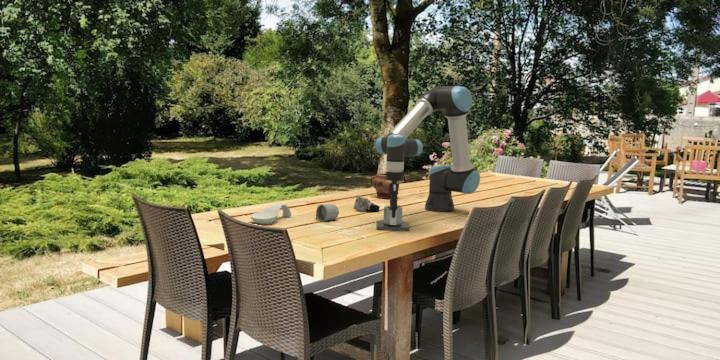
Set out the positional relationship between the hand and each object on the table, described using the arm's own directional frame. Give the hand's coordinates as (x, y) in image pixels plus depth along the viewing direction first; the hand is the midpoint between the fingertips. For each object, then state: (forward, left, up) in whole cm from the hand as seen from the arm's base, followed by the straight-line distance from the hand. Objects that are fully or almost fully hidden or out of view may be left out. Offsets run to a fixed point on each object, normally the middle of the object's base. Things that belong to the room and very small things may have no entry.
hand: (392, 222), depth 248 cm
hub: (0, 0, 0) cm, 0 cm away
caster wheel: (+12, -38, -3) cm, 40 cm away
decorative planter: (+3, -82, -2) cm, 82 cm away
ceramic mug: (+31, -12, -2) cm, 33 cm away
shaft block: (0, 0, -2) cm, 2 cm away
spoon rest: (+54, -5, -3) cm, 54 cm away
